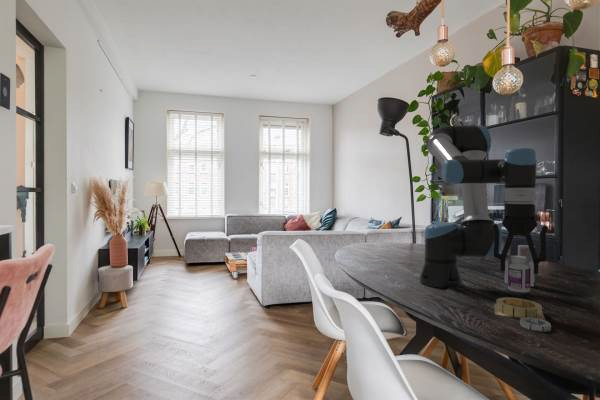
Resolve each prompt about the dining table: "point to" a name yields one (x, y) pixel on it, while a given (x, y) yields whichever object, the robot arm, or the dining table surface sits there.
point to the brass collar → (518, 308)
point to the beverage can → (525, 254)
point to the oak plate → (511, 316)
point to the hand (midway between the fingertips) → (518, 283)
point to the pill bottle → (519, 274)
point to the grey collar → (535, 324)
